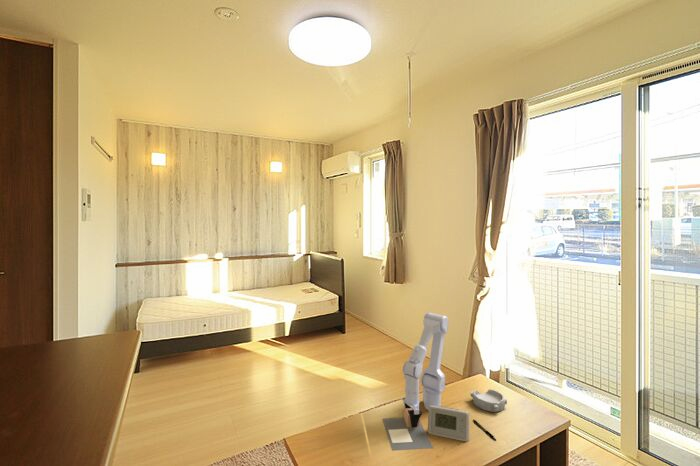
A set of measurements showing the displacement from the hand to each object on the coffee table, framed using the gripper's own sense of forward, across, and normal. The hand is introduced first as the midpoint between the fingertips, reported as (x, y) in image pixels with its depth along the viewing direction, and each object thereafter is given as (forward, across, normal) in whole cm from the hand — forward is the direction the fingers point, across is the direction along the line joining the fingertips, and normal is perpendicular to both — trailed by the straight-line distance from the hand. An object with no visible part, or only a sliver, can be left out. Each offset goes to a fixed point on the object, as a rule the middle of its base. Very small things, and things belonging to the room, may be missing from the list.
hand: (411, 421), depth 141 cm
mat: (+2, +6, -4) cm, 7 cm away
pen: (+2, +6, +29) cm, 30 cm away
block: (+1, 0, 0) cm, 1 cm away
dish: (+2, -12, +41) cm, 43 cm away
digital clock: (+2, +8, +13) cm, 15 cm away
